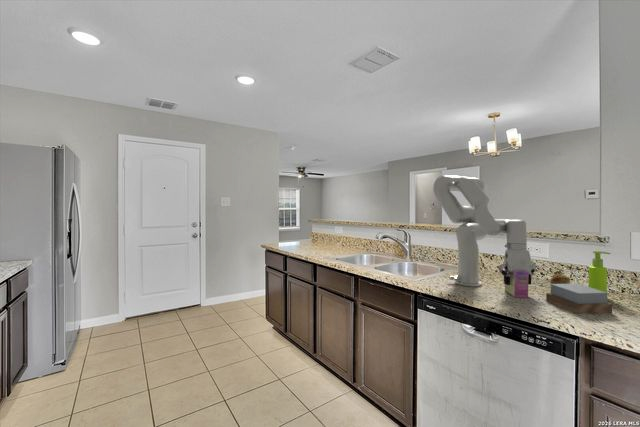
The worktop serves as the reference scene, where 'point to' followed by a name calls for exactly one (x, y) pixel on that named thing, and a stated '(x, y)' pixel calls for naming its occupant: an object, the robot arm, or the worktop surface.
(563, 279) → the onion
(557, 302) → the tower base
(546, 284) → the worktop surface
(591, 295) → the tower top
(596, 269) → the soap dispenser
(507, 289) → the box
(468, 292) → the worktop surface
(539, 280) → the worktop surface
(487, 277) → the worktop surface
